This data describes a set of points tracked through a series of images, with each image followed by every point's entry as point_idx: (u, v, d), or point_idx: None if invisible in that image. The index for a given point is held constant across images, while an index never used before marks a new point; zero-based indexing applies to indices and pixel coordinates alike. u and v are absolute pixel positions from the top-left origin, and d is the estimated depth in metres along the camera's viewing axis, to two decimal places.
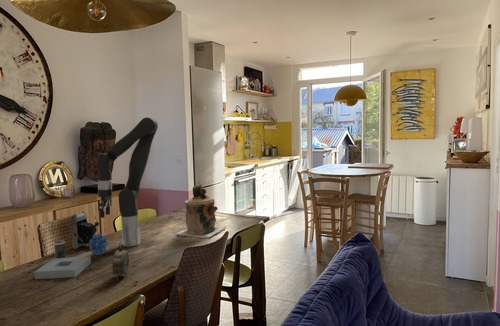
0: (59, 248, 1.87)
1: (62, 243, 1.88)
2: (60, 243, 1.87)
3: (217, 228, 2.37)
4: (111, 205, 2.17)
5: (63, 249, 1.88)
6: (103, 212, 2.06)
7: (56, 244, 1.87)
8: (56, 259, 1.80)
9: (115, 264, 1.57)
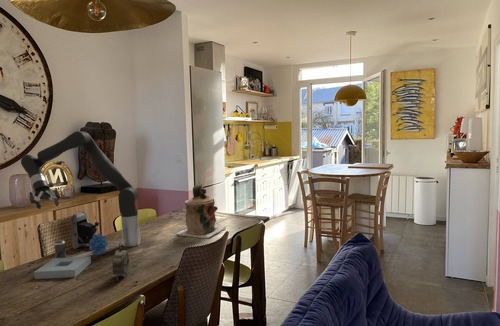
0: (59, 248, 1.87)
1: (62, 243, 1.88)
2: (60, 243, 1.87)
3: (217, 228, 2.37)
4: (59, 196, 2.02)
5: (63, 249, 1.88)
6: (37, 202, 1.93)
7: (56, 244, 1.87)
8: (56, 259, 1.80)
9: (115, 264, 1.57)
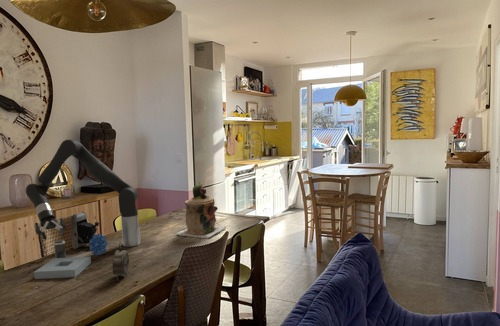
0: (59, 248, 1.87)
1: (62, 243, 1.88)
2: (60, 243, 1.87)
3: (217, 228, 2.37)
4: (64, 225, 2.00)
5: (63, 249, 1.88)
6: (43, 233, 1.91)
7: (56, 244, 1.87)
8: (56, 259, 1.80)
9: (115, 264, 1.57)
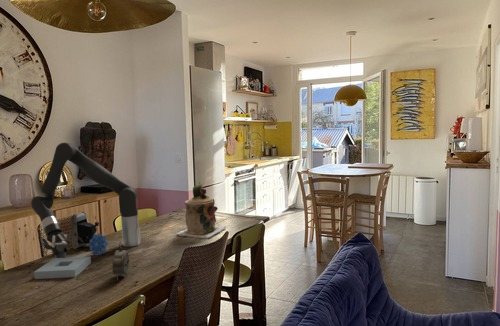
0: (59, 248, 1.87)
1: (62, 243, 1.88)
2: (60, 243, 1.87)
3: (217, 228, 2.37)
4: (69, 241, 1.93)
5: (63, 249, 1.88)
6: (53, 248, 1.87)
7: (56, 244, 1.87)
8: (56, 259, 1.80)
9: (115, 264, 1.57)
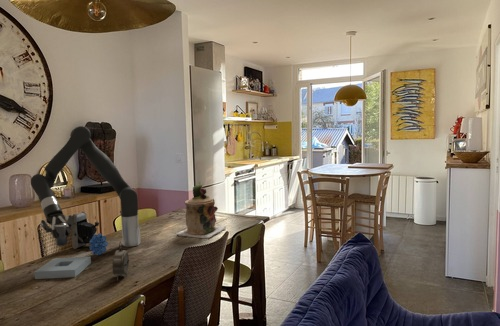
0: (60, 230, 1.70)
1: (63, 225, 1.71)
2: (61, 225, 1.71)
3: (217, 228, 2.37)
4: (70, 224, 1.76)
5: (64, 232, 1.72)
6: (54, 231, 1.70)
7: (56, 226, 1.70)
8: (56, 259, 1.80)
9: (115, 264, 1.57)
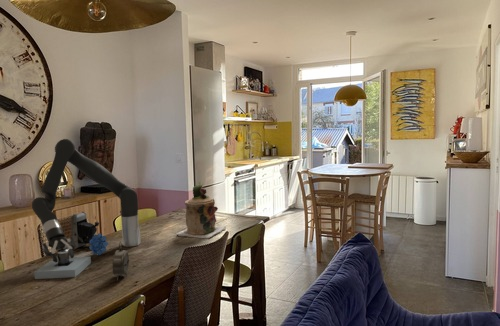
0: (62, 257, 1.71)
1: (65, 252, 1.72)
2: (63, 252, 1.72)
3: (217, 228, 2.37)
4: (74, 246, 1.78)
5: (66, 259, 1.73)
6: (53, 255, 1.70)
7: (59, 253, 1.71)
8: None
9: (115, 264, 1.57)
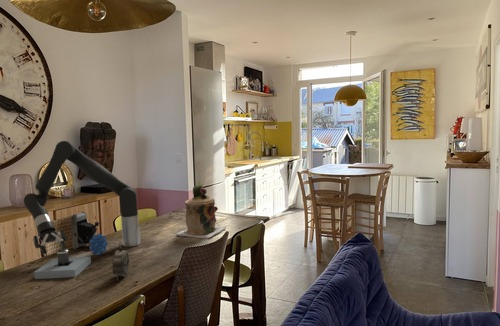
0: (62, 257, 1.71)
1: (65, 252, 1.72)
2: (63, 252, 1.72)
3: (217, 228, 2.37)
4: (65, 238, 1.88)
5: (66, 259, 1.73)
6: (43, 247, 1.80)
7: (59, 253, 1.71)
8: (56, 259, 1.80)
9: (115, 264, 1.57)
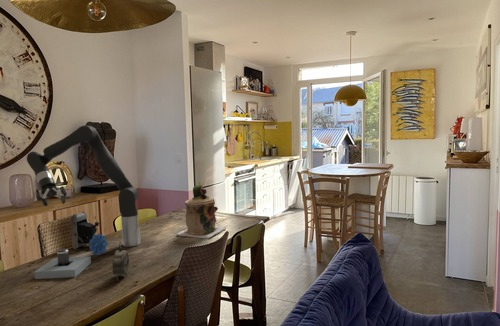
0: (62, 257, 1.71)
1: (65, 252, 1.72)
2: (63, 252, 1.72)
3: (217, 228, 2.37)
4: (65, 193, 1.98)
5: (66, 259, 1.73)
6: (44, 200, 1.90)
7: (59, 253, 1.71)
8: (56, 259, 1.80)
9: (115, 264, 1.57)
